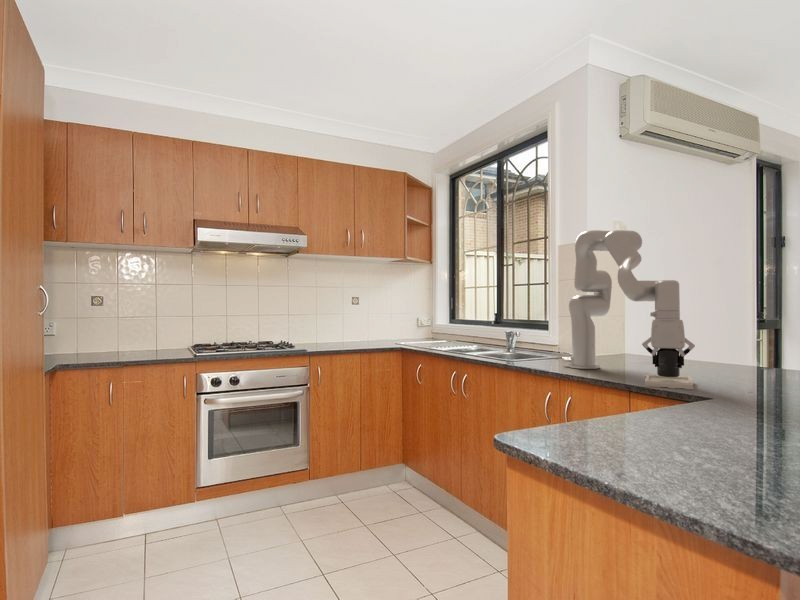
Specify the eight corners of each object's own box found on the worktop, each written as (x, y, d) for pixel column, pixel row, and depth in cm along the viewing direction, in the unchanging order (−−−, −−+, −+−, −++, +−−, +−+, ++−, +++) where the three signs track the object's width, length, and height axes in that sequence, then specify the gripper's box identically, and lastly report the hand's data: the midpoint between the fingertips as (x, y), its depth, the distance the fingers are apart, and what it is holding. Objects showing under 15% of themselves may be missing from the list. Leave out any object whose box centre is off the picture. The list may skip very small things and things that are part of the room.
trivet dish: (645, 386, 162) (645, 380, 162) (646, 380, 174) (646, 374, 174) (693, 389, 155) (693, 383, 155) (691, 382, 167) (691, 377, 167)
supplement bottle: (683, 377, 160) (682, 342, 160) (661, 377, 162) (660, 342, 162) (675, 374, 167) (674, 340, 167) (654, 374, 168) (653, 340, 168)
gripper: (638, 316, 165) (639, 367, 165) (697, 316, 157) (698, 370, 157) (639, 315, 172) (640, 364, 172) (696, 315, 163) (696, 367, 163)
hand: (668, 366), depth 164 cm, fingers closed on supplement bottle, 6 cm apart
